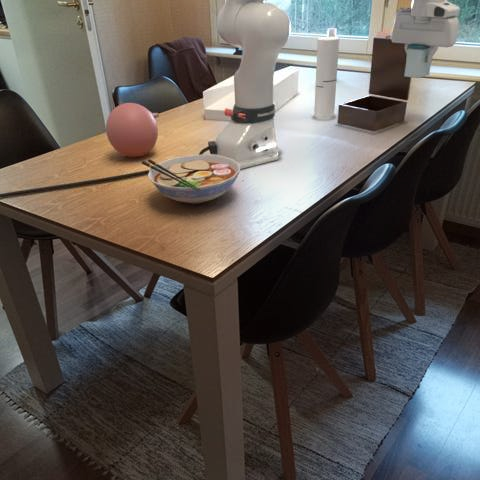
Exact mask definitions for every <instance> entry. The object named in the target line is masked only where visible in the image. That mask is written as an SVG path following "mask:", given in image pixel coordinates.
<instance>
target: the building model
mask: <svg viewBox="0 0 480 480" xmlns="http://www.w3.org/2000/svg"><path fill="white" fill-rule="evenodd" d="M298 94H299V69H293V70H289V71H284V72H280V73H276V74H274V78H273V102H274V104H275V112H276V111H278V110H279V109H280V108H281V107H282V106H284V105H285V104H286V103H287V102H289V101H290V100H292V99H293V98H294V97H295V96H296V95H298ZM202 99H203V109H204V119H205V120H212V121H213V120H214V121H224V122H225V121H227V122H230V121H231V117H229V116H225V113H224V111H225V109H226V108H228V109H231V110H232V111H233V107H234V105H235V91H234V75H232V76H230V77H228V78H226V79H225V80H222V81H220V82H219V83H216V84H214V85H213V86H211V87H209V88H207V89H206V90H204V91H202Z"/></svg>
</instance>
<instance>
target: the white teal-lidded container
mask: <svg viewBox="0 0 480 480" xmlns="http://www.w3.org/2000/svg"><path fill="white" fill-rule="evenodd" d="M430 52H431V50H430V46H425V45H414V44H412V45H408V53H407V60H406V67H405V75H404V76H406V77H411V78H415V79H421V78H424V77H426V76H429V75H430V72H431V67H432V62H431V63H425V56H428V55H429V53H430Z"/></svg>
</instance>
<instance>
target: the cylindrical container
mask: <svg viewBox="0 0 480 480" xmlns="http://www.w3.org/2000/svg"><path fill="white" fill-rule="evenodd" d="M339 49H340V37H338V36H337V37H327V36H324V37H318V38H317V45H316V63H315V64H316V67H315V85H314V86H315V87H314V88H315V89H314V113H313V116H314V117H315V118H320V119H328V118H332V117H334V116H335V107H336V106H335V105H336V93H337V77H338V65H339V64H338V62H339V52H340V51H339Z"/></svg>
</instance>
